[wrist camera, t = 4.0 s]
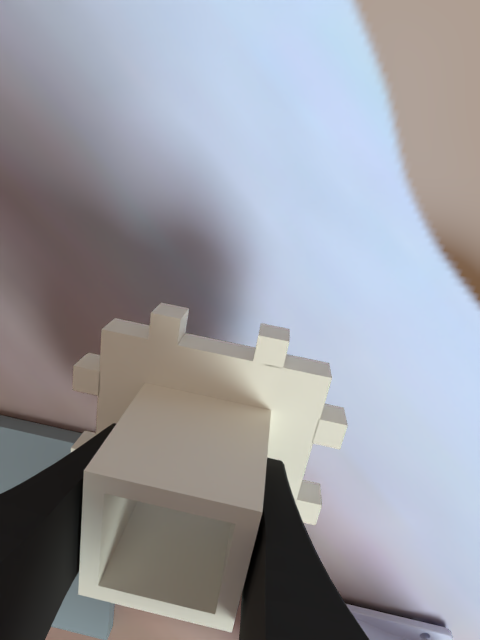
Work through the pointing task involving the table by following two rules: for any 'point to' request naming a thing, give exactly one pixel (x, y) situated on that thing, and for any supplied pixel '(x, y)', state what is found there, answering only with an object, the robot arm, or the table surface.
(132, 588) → the gear
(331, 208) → the table surface
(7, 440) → the carrier plate
